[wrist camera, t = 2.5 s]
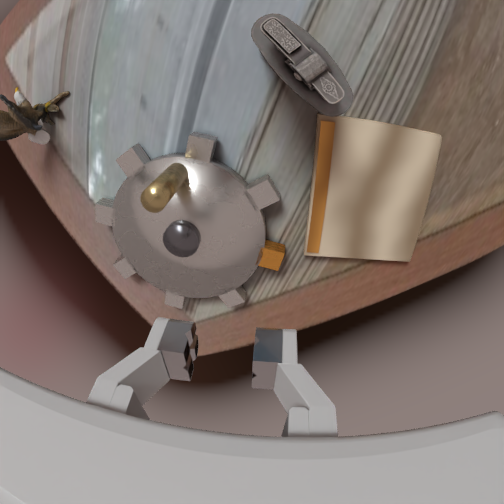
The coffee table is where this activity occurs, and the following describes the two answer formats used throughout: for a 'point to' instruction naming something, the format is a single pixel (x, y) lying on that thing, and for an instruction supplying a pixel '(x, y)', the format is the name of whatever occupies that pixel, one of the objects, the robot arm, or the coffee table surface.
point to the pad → (368, 188)
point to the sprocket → (190, 223)
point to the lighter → (302, 64)
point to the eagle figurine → (27, 118)
